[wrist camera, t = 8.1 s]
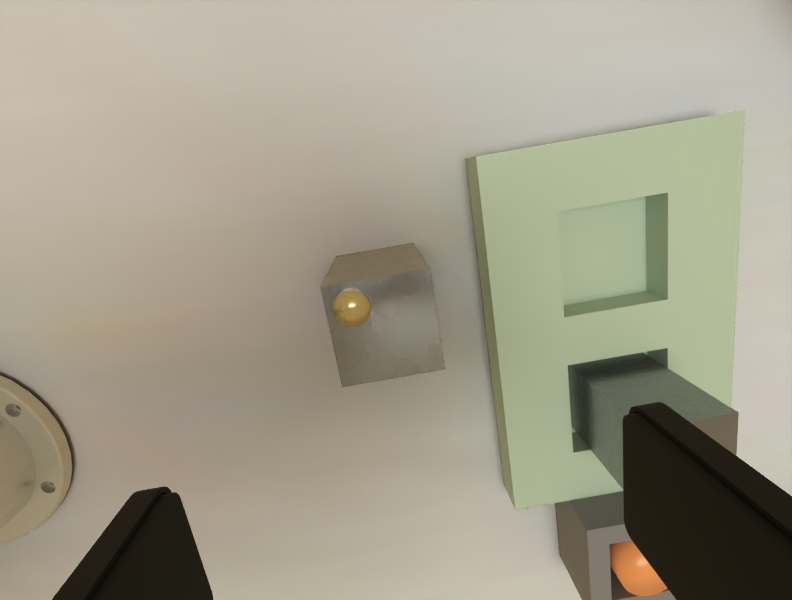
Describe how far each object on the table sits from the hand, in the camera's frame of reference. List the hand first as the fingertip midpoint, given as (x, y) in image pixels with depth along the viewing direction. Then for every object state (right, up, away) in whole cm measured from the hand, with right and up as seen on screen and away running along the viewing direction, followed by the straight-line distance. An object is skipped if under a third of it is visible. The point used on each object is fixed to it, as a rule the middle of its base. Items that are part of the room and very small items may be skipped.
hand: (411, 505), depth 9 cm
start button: (+15, -11, +20) cm, 27 cm away
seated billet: (+13, -1, +19) cm, 23 cm away
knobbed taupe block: (-1, +5, +17) cm, 18 cm away
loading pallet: (+13, 0, +19) cm, 23 cm away
